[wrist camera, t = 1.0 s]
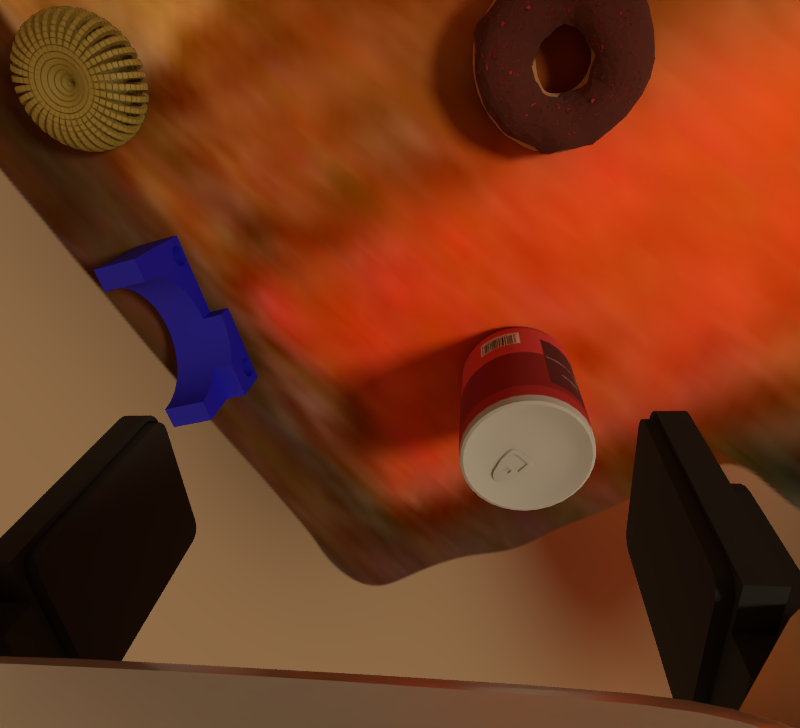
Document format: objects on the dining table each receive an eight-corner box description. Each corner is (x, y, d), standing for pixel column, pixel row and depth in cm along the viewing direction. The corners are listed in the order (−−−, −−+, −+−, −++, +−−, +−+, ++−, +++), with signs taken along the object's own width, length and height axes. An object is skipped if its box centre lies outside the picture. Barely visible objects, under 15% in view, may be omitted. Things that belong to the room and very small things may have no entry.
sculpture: (-35, 47, 34) (66, -28, 31) (14, 49, 37) (107, -18, 35) (55, 178, 36) (154, 118, 34) (92, 168, 40) (184, 113, 38)
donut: (638, 141, 36) (657, 150, 32) (476, 157, 37) (477, 167, 34) (652, -58, 31) (675, -74, 28) (467, -31, 33) (467, -43, 29)
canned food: (444, 392, 45) (436, 482, 35) (493, 304, 41) (500, 377, 31) (533, 432, 45) (549, 530, 36) (589, 349, 42) (625, 434, 32)
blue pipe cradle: (258, 376, 46) (230, 416, 41) (207, 386, 47) (174, 427, 42) (196, 229, 41) (155, 253, 36) (141, 244, 42) (93, 269, 37)
